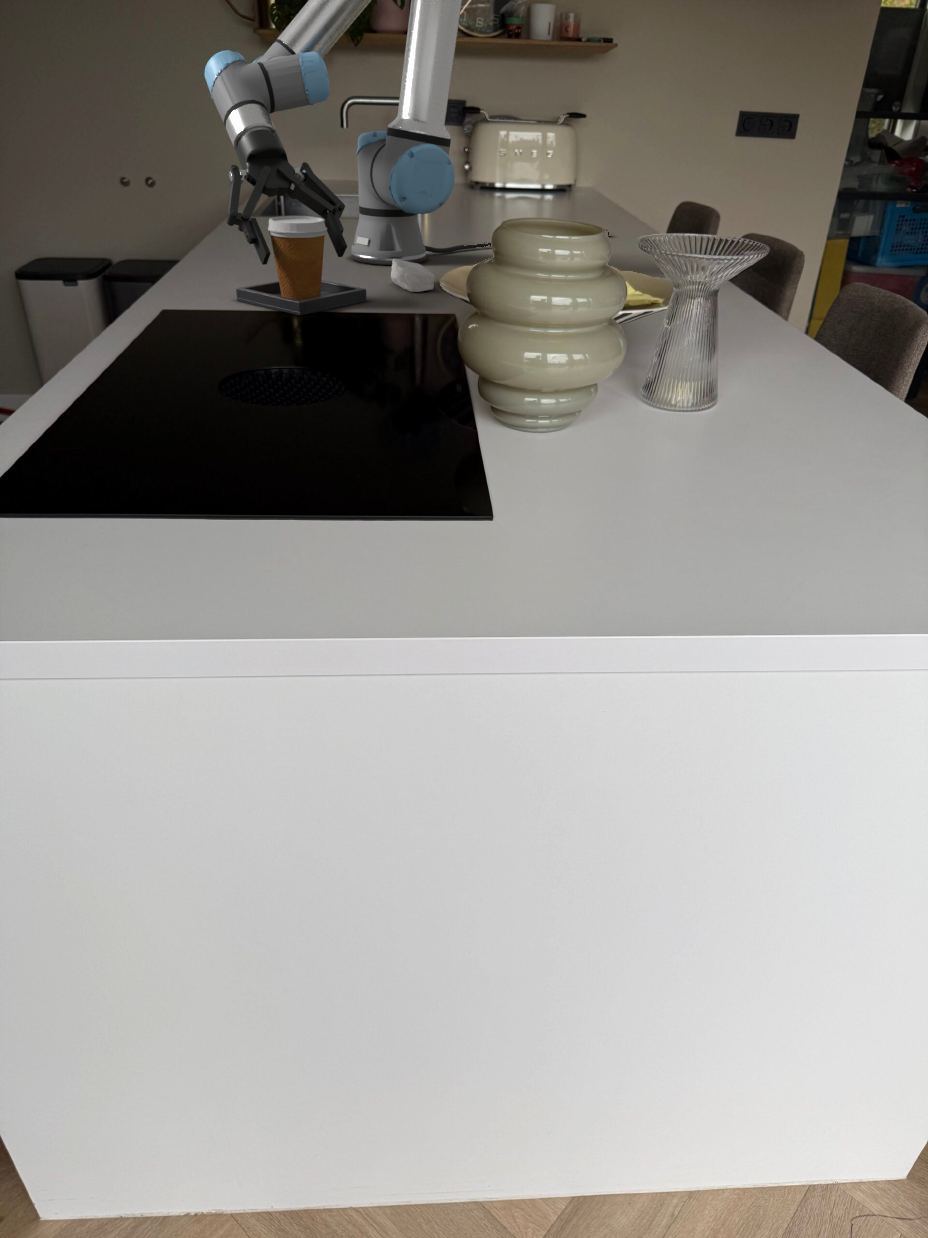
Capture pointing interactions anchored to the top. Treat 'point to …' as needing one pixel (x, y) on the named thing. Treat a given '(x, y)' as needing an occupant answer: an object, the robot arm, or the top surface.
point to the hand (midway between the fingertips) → (305, 255)
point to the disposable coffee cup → (298, 254)
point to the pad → (329, 299)
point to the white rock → (411, 276)
